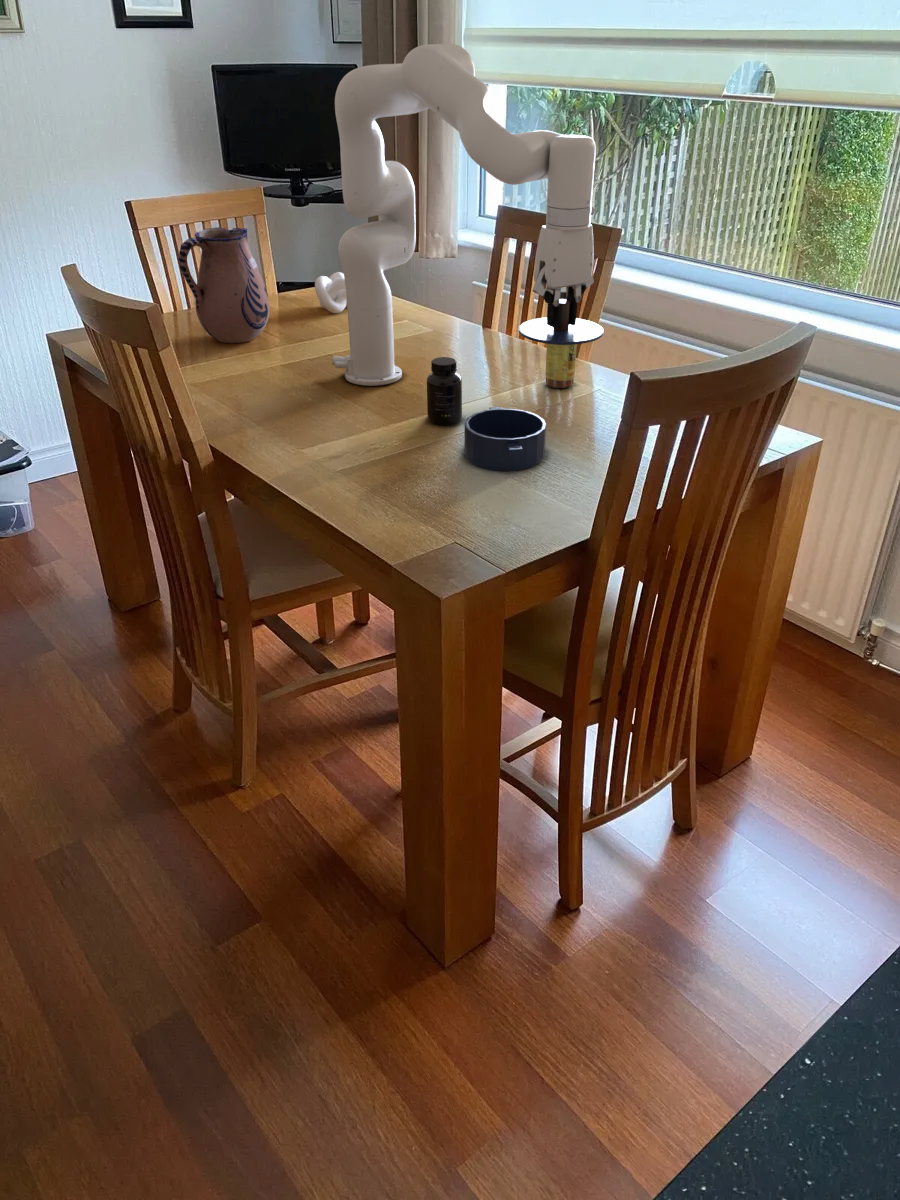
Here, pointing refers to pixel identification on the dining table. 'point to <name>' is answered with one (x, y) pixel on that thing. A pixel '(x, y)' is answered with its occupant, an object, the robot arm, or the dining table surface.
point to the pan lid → (561, 329)
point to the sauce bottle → (560, 362)
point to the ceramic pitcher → (227, 285)
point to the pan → (504, 439)
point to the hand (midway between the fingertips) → (561, 324)
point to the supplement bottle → (444, 392)
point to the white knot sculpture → (332, 292)
